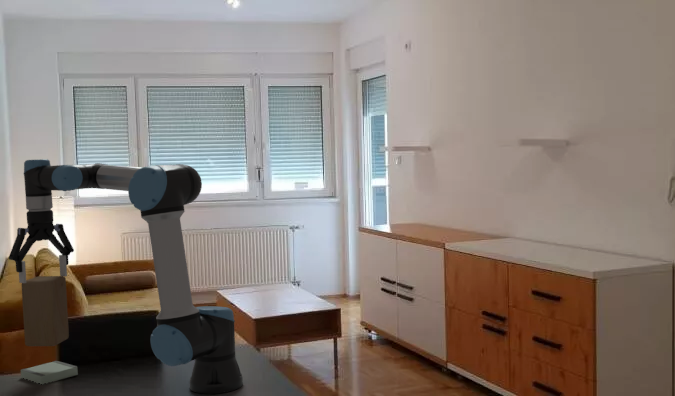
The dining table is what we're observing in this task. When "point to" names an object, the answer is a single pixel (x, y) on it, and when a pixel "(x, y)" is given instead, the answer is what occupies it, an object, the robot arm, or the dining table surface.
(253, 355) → the dining table surface
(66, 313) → the wooden block
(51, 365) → the dock
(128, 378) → the dining table surface
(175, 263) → the robot arm
